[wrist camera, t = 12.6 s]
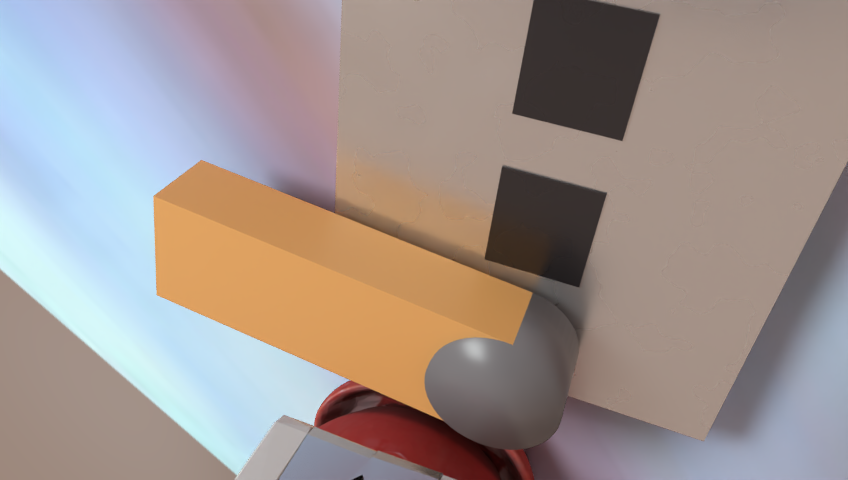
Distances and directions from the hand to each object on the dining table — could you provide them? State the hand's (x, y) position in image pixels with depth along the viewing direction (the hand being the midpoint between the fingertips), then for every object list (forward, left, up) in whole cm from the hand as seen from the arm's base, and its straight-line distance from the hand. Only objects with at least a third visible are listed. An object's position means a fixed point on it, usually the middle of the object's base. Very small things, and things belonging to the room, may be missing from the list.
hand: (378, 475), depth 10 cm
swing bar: (+6, +10, -15) cm, 18 cm away
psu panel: (0, +4, -17) cm, 18 cm away
